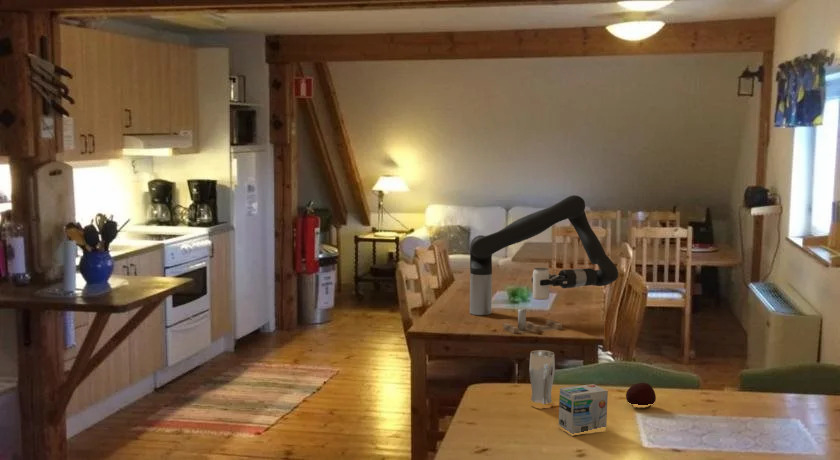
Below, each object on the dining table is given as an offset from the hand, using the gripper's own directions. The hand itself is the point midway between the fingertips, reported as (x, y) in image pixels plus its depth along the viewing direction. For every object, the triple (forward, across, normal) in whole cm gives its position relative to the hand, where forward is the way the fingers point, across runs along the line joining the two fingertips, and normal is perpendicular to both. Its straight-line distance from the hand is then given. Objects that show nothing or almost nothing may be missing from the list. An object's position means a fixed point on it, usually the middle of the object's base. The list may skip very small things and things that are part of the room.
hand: (536, 281), depth 335 cm
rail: (+7, +9, +18) cm, 21 cm away
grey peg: (+12, +9, +16) cm, 22 cm away
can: (-2, 0, +7) cm, 8 cm away
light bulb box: (+51, +112, +17) cm, 124 cm away
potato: (+26, +102, +18) cm, 107 cm away
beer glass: (+51, +91, +17) cm, 106 cm away
